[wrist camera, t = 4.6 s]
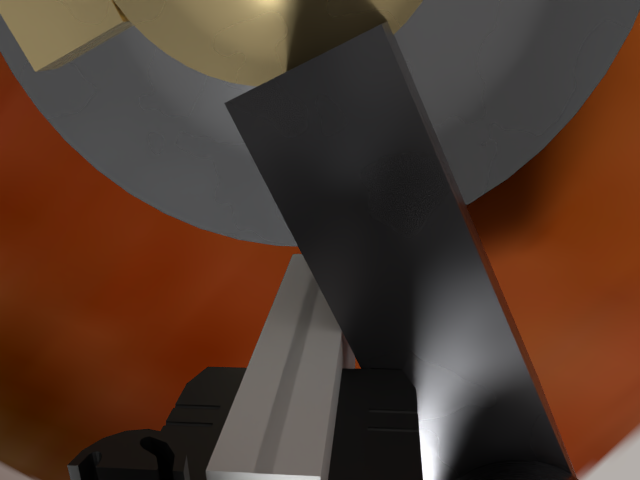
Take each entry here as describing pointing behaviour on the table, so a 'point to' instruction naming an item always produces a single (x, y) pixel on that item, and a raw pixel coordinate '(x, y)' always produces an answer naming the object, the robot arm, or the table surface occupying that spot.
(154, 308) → the table surface
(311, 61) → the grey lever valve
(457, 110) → the post plate
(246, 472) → the robot arm
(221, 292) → the table surface
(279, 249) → the table surface
